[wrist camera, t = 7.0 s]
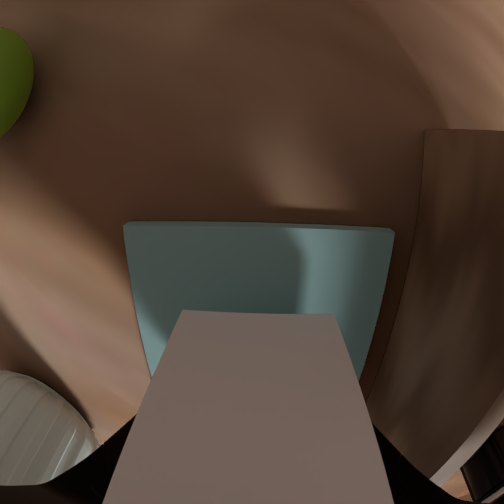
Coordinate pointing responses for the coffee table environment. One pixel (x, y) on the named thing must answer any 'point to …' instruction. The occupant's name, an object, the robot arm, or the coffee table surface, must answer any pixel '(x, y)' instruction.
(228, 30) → the coffee table surface
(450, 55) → the coffee table surface
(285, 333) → the white rectangular block
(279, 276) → the teal mat
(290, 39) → the coffee table surface
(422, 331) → the walnut screen
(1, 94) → the snail figurine
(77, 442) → the vase
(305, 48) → the coffee table surface
